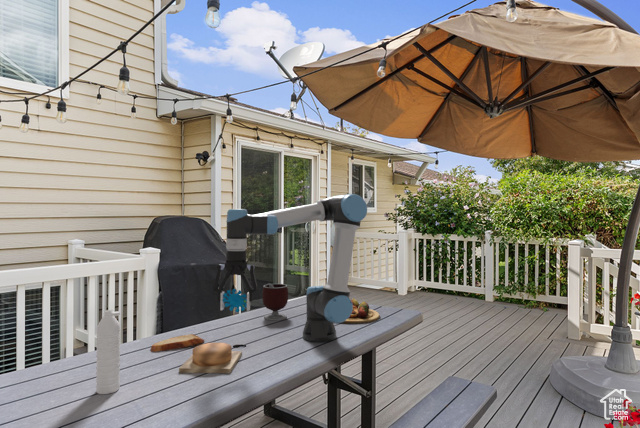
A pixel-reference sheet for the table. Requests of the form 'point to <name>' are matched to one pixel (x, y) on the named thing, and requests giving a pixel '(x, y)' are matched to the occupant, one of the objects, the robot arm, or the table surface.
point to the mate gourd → (275, 300)
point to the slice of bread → (177, 343)
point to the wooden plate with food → (361, 314)
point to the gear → (235, 300)
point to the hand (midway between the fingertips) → (235, 309)
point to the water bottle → (108, 353)
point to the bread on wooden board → (211, 359)
